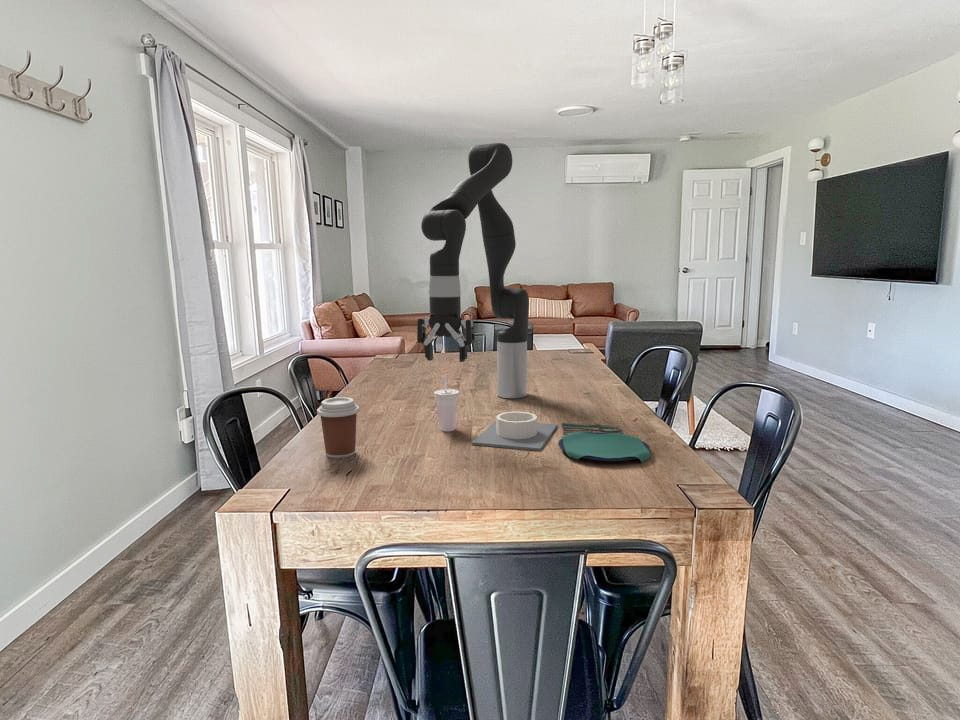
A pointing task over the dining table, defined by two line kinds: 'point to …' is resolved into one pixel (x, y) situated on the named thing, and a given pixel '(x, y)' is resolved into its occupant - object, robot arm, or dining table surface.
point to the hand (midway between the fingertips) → (446, 360)
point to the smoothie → (446, 407)
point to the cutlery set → (602, 444)
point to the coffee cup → (339, 426)
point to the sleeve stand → (516, 432)
